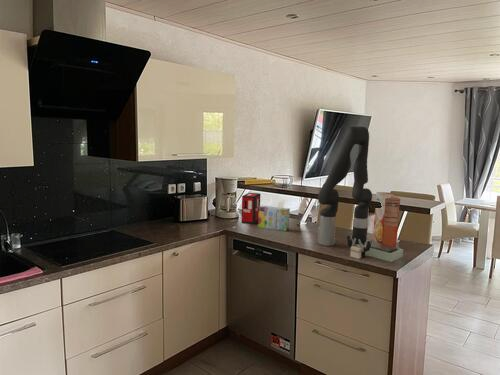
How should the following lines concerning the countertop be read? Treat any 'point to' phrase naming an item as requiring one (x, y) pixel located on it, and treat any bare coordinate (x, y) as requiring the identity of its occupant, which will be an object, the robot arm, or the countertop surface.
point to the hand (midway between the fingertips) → (358, 256)
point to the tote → (385, 254)
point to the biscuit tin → (383, 247)
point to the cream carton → (356, 251)
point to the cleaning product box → (250, 208)
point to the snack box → (274, 218)
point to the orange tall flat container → (386, 219)
